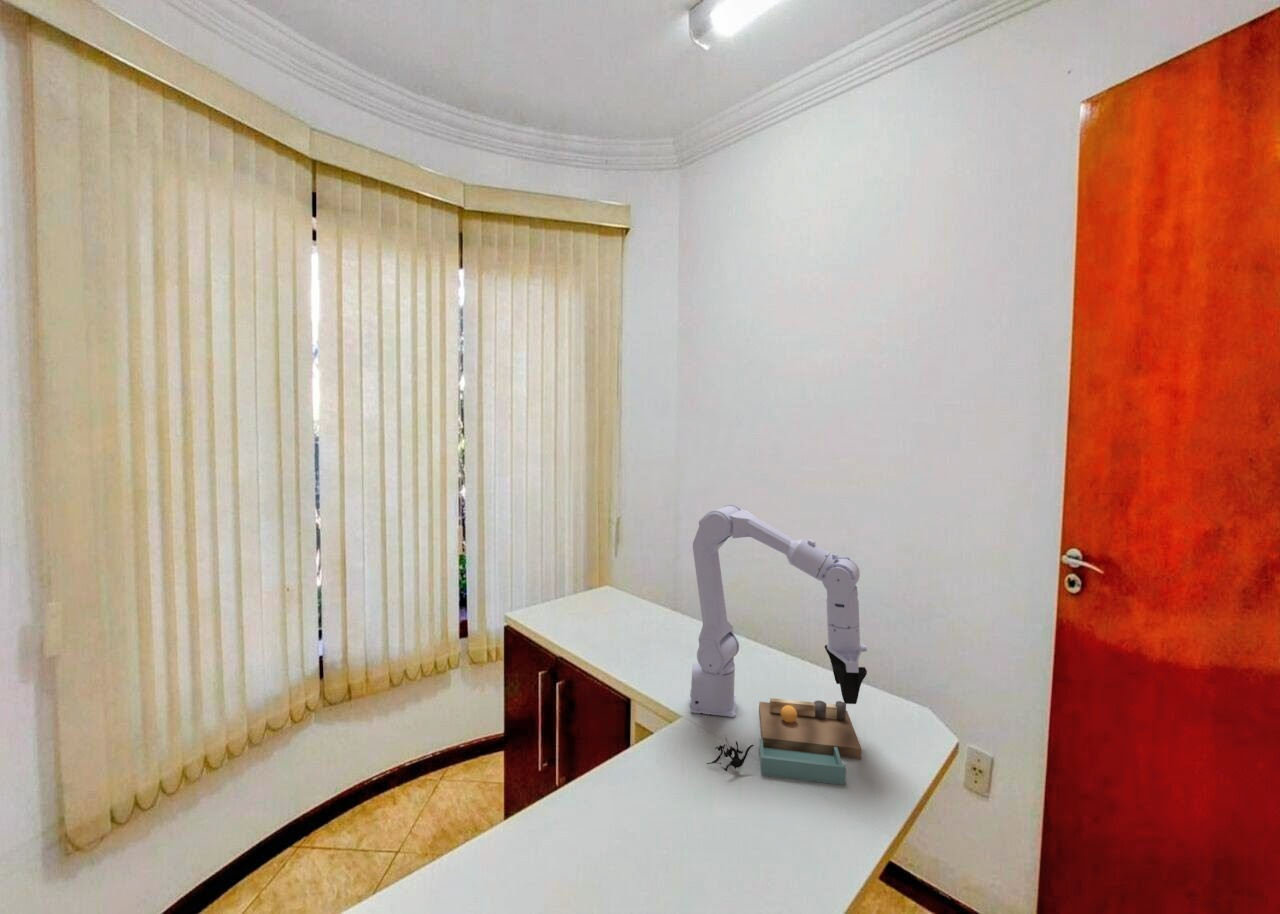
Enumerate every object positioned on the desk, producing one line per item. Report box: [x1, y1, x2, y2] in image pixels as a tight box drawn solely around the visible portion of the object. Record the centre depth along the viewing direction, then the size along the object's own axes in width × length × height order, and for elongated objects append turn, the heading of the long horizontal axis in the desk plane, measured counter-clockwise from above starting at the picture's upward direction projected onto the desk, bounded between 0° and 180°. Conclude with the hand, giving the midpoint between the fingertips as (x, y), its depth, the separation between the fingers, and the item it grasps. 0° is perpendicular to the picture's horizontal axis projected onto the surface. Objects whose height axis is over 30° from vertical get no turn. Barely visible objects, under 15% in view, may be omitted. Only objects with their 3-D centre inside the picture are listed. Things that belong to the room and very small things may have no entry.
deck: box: [758, 701, 863, 760], centre depth 106 cm, size 18×13×2 cm
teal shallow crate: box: [758, 737, 847, 786], centre depth 96 cm, size 14×8×3 cm, turn 80°
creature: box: [706, 736, 755, 772], centre depth 97 cm, size 8×5×8 cm
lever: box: [769, 697, 847, 721], centre depth 109 cm, size 15×2×3 cm, turn 80°
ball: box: [781, 705, 797, 723], centre depth 106 cm, size 3×3×3 cm
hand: (845, 692), depth 101 cm, fingers open, 7 cm apart
